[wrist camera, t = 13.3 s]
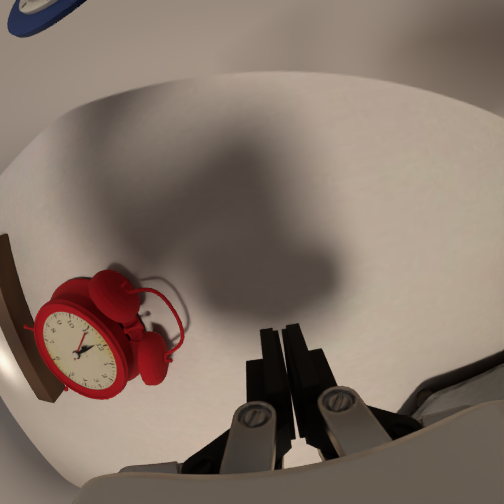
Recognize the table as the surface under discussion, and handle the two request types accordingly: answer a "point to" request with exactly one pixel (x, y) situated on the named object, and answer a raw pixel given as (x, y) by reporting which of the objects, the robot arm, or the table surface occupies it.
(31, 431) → the table surface
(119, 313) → the alarm clock
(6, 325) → the walnut rail
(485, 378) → the serving tray
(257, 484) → the robot arm
